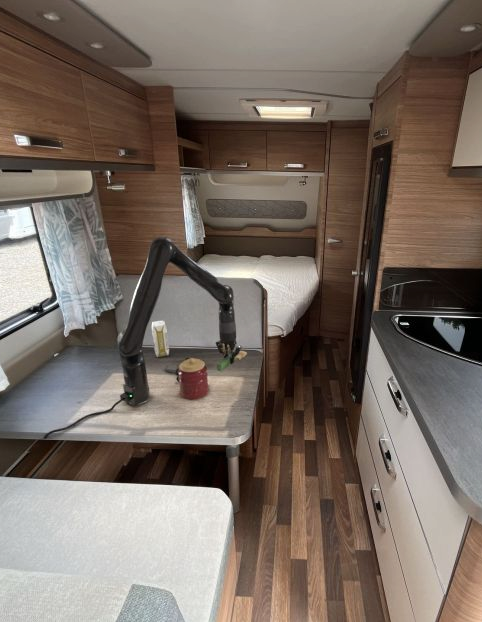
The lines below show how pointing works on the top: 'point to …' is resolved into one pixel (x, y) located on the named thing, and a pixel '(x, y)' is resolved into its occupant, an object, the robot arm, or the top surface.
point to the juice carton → (160, 338)
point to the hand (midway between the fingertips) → (229, 362)
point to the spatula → (226, 361)
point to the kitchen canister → (193, 378)
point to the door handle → (175, 370)
